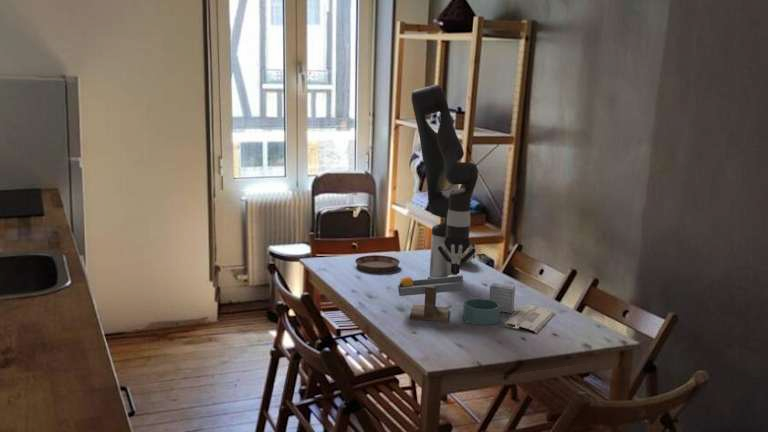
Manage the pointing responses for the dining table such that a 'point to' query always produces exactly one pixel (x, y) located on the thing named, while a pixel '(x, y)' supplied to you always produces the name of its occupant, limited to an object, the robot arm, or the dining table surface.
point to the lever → (440, 285)
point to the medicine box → (503, 296)
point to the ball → (406, 282)
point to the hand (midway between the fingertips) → (455, 274)
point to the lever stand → (429, 308)
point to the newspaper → (530, 317)
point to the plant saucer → (377, 263)
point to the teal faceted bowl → (481, 311)
